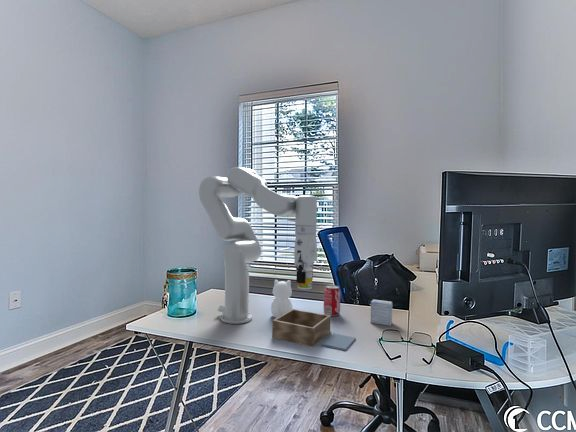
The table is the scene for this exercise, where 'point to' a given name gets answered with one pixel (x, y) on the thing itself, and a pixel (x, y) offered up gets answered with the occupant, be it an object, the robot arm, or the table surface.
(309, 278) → the supplement bottle
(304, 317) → the crate
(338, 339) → the mat
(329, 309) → the soda can
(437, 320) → the table surface
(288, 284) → the cat figurine
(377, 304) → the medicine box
